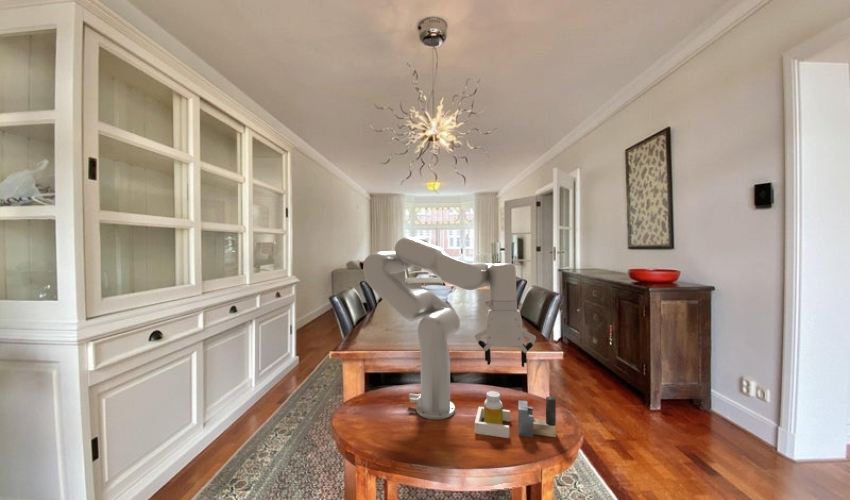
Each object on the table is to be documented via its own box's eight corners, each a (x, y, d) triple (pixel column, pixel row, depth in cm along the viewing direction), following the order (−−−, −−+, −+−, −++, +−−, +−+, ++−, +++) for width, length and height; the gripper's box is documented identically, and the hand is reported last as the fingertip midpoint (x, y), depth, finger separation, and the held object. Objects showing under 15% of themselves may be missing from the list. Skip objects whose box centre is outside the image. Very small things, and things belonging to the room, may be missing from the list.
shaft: (525, 433, 96) (525, 398, 95) (525, 427, 98) (525, 393, 98) (556, 437, 93) (556, 401, 93) (555, 431, 96) (555, 396, 96)
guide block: (518, 435, 95) (518, 409, 95) (518, 424, 100) (518, 400, 100) (533, 437, 94) (533, 411, 94) (532, 426, 99) (532, 401, 99)
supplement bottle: (502, 432, 96) (502, 398, 96) (483, 430, 97) (483, 397, 97) (502, 422, 102) (502, 390, 101) (484, 420, 103) (484, 389, 103)
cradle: (474, 433, 96) (474, 422, 96) (478, 415, 106) (478, 406, 106) (509, 438, 93) (509, 427, 93) (510, 420, 103) (510, 410, 103)
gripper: (472, 307, 97) (474, 367, 97) (535, 308, 92) (537, 370, 92) (475, 303, 104) (477, 358, 104) (534, 303, 99) (536, 361, 99)
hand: (505, 364), depth 98 cm, fingers open, 9 cm apart
